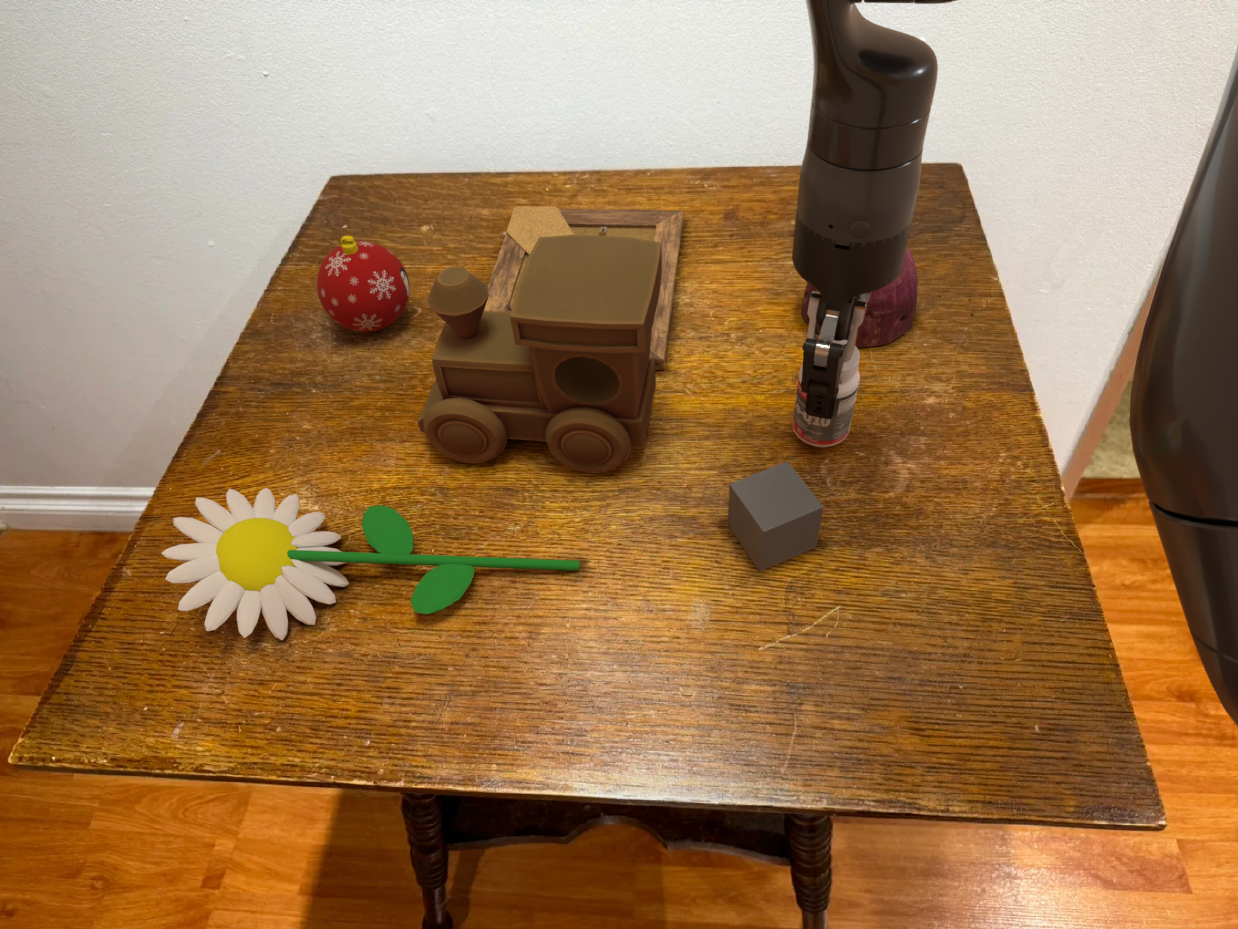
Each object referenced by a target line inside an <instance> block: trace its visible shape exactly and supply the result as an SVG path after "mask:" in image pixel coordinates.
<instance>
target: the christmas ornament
mask: <svg viewBox="0 0 1238 929" xmlns="http://www.w3.org/2000/svg"><path fill="white" fill-rule="evenodd" d="M340 243H341V245H339V246H337V247H336V248H334V249H333V250H331V252H329V253H328V255H327V256H325V258H324V259H323V261H322V262H321V265H320V267H319V270H318V273H317V276H316V292H317V296H318V299H319V303H320V304H321V306H322V308H323V310H324V311H325V312H326V314H327V315H328V316H329V317H330V318H331V319H332V320H333V321H334V322H336V323H337V324H338V325H340V326H342V327H344V328H345V329H348V330H351V331H354V332H360V333H371V332H377V331H381V330H383V329H385V328H388V327H389V326H391V325H392V324H394V322H396V321H397V320H398V319H399V318H400V317H401V316H402V314H403V313H404V311H405V309H406V307H407V305H408V302H409V297H410V281H409V277H408V276H409V275H408V272H407V271H406V268H405V266H404V265H403V263H402V262H401V260H400V259H399V258H398V257H397V256H396V255H395V254H394V253H393V252H392V251H390V250H389V249H388V248H386V247H385V246H382V245H380V244H378V243H375V242H372V241H366V240H365V241H364V240H357V241H355V238H354V236H352V235H343V236H342V237H341V238H340Z"/></svg>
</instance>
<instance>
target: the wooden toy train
mask: <svg viewBox="0 0 1238 929" xmlns="http://www.w3.org/2000/svg"><path fill="white" fill-rule="evenodd" d="M661 277H662V250H661V242H656V241H649V240H643V239H637V238H631V237H616V236H591V235H564V236H551V237H539V239H538V240H537V242H536V244H535V246H534V248H533V249H532V251H531V253H530V255H529V257H528V259H527V261H526V264H525V267H524V270H523V272H522V275H521V278H520V280H519V283H518V286H517V288H516V292H515V296H514V301H513V305H512V310H511V312H495V311H484V309H485V306H486V303H487V300H488V297H489V292H488V284H486V283H485V282H483V281H482V280H481V279H479V278H478V277H477V276H475V275H474V274H473V273H471V272H470V271H469V270H468V269H466V268H465V267H463V266H451V267H446V268H445V269H443V270H440V272H439V273H438V275H437V276H436V278H435V281H434V283H433V285H432V287H431V289H430V291H429V293H428V297H427V298H428V306H429V307H430V309H432V311H434V312H435V313H436V314H437V316H439V318H440V319H442V320H443V321H444V322H445V323H444V325H443V328H442V330H441V332H440V334H439V336H438V340H437V342H436V345H435V347H434V351H433V353H432V357H431V363H432V369H433V373H434V376H435V380H434V382H433V385H432V387H431V389H430V392H429V395H428V397H427V399H426V401H425V404H424V406H423V408H422V411H421V413H420V416H419V417H418V420H417V425H418V428H419V431H420V432H421V433H424V434H425V436H426V438H427V440H428V442H429V443H430V444H431V445H432V446H433V447H434V448H435V449H436V450H437V451H438V452H439V453H440V454H442V455H444V456H445V457H447V458H449V459H452V460H454V461H457V462H461V463H466V464H480V463H482V464H483V463H485V462H489V461H492V460H493V459H495V458H496V457H497V456H498V455H500V454H501V453H503V451H504V449H505V447H506V446H507V439H508V440H509V439H511V440H522V441H523V440H524V441H536V442H537V441H538V442H546V444H547V447H548V449H549V451H550V453H551V454H552V455H553V456H554V458H555V459H556V460H557V461H558V462H560V463H561V464H563V465H565V466H566V467H567V468H570V469H572V470H574V471H577V472H583V473H587V474H601V473H605V472H608V471H613V470H615V469H616V468H617V467H619V466H621V465H622V464H623V463H624V462H625V461H626V459H627V458H628V457H629V455H630V454H631V449H640V450H644V449H645V445H646V444H645V443H646V440H647V439H646V438H647V434H648V428H649V423H650V417H651V413H652V407H653V402H654V397H655V392H656V386H657V380H656V378H657V377H656V370H655V358H649V355H650V346H651V337H652V327H653V323H654V318H655V313H656V308H657V303H658V298H659V294H660V286H661Z"/></svg>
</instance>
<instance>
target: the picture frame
mask: <svg viewBox="0 0 1238 929" xmlns="http://www.w3.org/2000/svg"><path fill="white" fill-rule="evenodd" d="M683 227H684V210H681V209H680V210H677V209H675V210H674V209H673V210H672V209H671V210H670V209H612V208H611V209H605V208H604V209H600V208H597V209H596V208H591V209H590V208H558V206H545V205H540V206H538V205H515V206H514V208H513V210H512V213H511V217H510V219H509V223H508V226H507V229H506V231H505V232H506V233H505V236H504V238H503V241H502V245H501V246H500V247H501V248H500V249H499V252H498V256H497V258H496V261H495V263H494V266H493V270H492V273H491V275H490V278H489V281H488V284H487V287H488V292H489V297H488V300H487V303H486V306H485V309H484V311H495V312H511V310H512V305H513V301H514V296H515V292H516V288H517V286H518V283H519V280H520V278H521V275H522V272H523V270H524V267H525V264H526V261H527V259H528V257H529V255H530V253H531V251H532V249H533V248H534V246H535V244H536V242H537V240H538V239H539V237H551V236H564V235H591V236H616V237H631V238H637V239H643V240H649V241H656V242H661V250H662V277H661V286H660V294H659V298H658V303H657V308H656V313H655V318H654V323H653V327H652V337H651V346H650V355H649V358H655V371H656V370H658V371H664V370H665V366H666V359H667V358H666V357H667V351H668V343H669V335H670V329H671V328H670V327H671V320H672V312H673V305H674V304H673V303H674V298H675V289H676V282H677V275H678V268H679V266H678V265H679V259H680V251H681V243H682V235H683Z"/></svg>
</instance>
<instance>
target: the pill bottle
mask: <svg viewBox="0 0 1238 929" xmlns="http://www.w3.org/2000/svg"><path fill="white" fill-rule="evenodd" d="M847 341H848V340H842V341H836V340H834V343H837V344H843V345H845V344H847ZM860 359H861V354H860V351H859V348H857V347H856V346H855V348H854V352H853V355H852V357H851V359H850V360H849V361H848V362H845V363H844V367H843V372H842V377H841V378H843V381H842V384H840V385H839V391H838V394H837V400H836V406H835V411H834V415H833V417H832V418H831V419H823V418H818V417H814V416H809V415H807V414H806V413H805V406H806V398H807V393H804V392H801V387H800V386H801V381H802V368H803V364H802V365H801V367H800V369H799V372H798V376H797V377H798V378H797V384H796V385H797V386H796V391H795V392H796V393H795V402H794V409H793V414H792V415H793V416H792V430H793V432H794V434H795V435H796V437H797V438H798V439H800V440H801V441H802V442H803V443H805V444H807V445H809V446H812V447H816V448H829V447H834V446H837V445H838V444H841V443H842V442H843V441H844V440H846V438H847V437H848V436H849V433H850V431H851V426H852V422H853V416H854V411H855V405H856V402H857V396H858V390H859V386H860V379H861V374H860V372H859V367H860Z"/></svg>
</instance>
